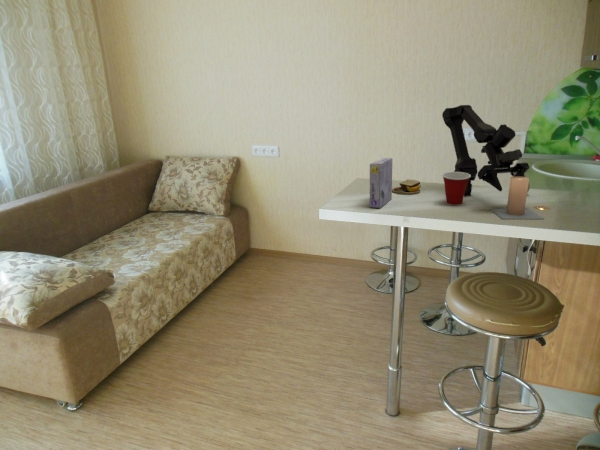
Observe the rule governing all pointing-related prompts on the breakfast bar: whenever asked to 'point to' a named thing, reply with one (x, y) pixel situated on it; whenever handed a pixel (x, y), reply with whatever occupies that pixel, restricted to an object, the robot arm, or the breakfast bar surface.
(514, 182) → the terracotta canister
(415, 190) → the toy sandwich meal
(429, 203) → the breakfast bar surface
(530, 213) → the pad
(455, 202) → the plastic cup
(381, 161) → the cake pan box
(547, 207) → the copper marker
